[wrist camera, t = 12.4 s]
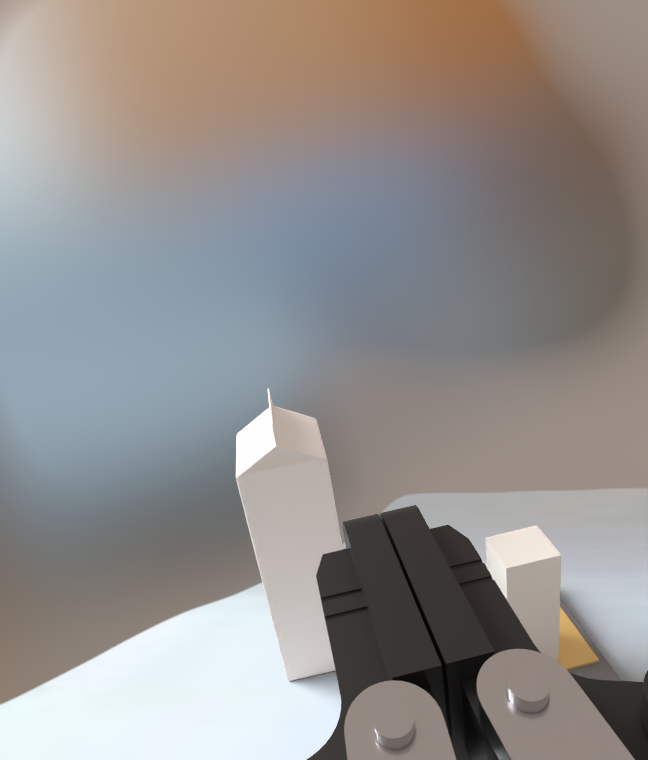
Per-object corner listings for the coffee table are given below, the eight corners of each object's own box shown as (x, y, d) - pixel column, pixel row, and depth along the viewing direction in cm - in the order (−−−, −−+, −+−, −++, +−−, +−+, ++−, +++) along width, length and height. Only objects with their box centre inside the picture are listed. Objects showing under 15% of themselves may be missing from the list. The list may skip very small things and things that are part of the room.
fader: (508, 672, 38) (506, 568, 34) (490, 637, 41) (485, 537, 37) (558, 659, 38) (561, 555, 35) (536, 625, 41) (536, 525, 37)
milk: (349, 607, 49) (311, 378, 40) (363, 666, 43) (322, 414, 35) (280, 622, 48) (227, 393, 40) (286, 684, 43) (224, 433, 34)
